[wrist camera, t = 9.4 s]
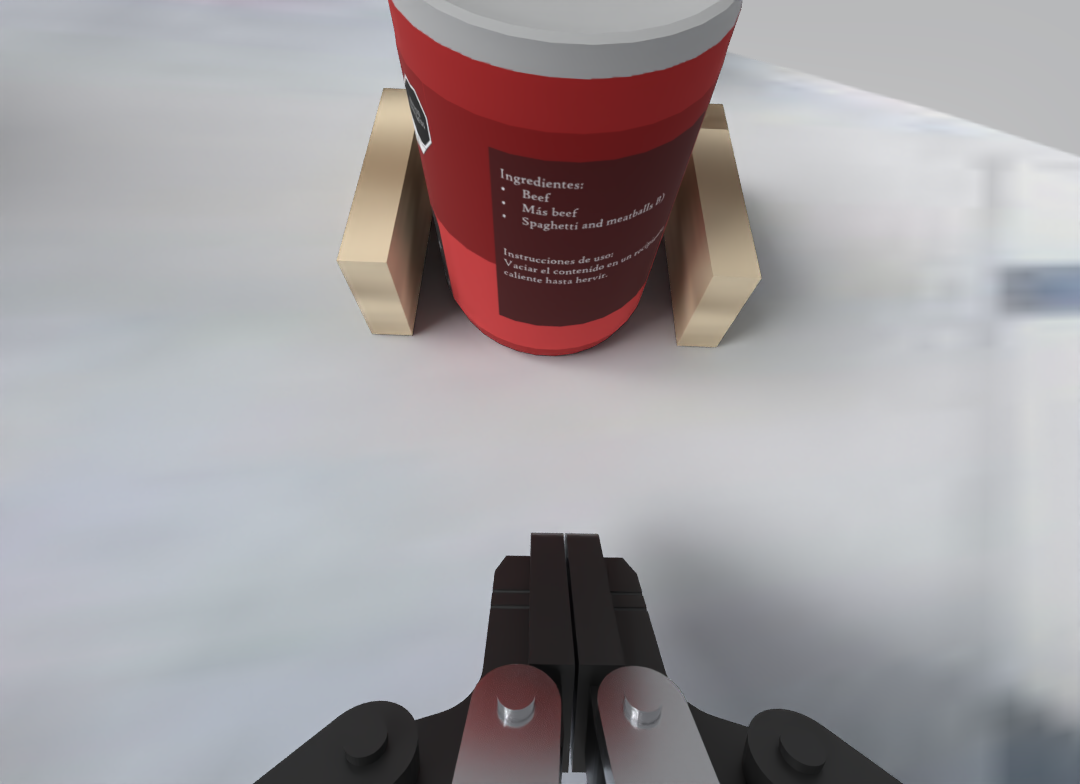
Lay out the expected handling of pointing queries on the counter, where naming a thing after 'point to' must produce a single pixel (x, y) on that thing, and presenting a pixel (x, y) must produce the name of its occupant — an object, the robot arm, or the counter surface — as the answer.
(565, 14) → the canned food
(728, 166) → the wooden bracket
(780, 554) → the counter surface
